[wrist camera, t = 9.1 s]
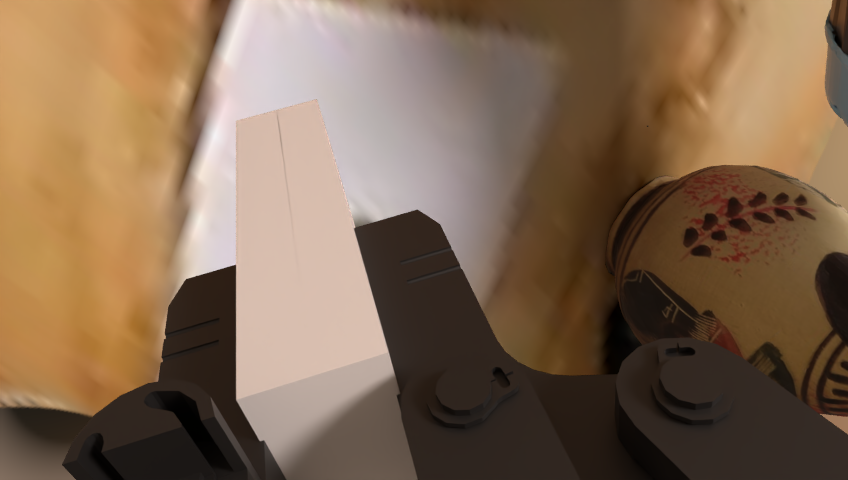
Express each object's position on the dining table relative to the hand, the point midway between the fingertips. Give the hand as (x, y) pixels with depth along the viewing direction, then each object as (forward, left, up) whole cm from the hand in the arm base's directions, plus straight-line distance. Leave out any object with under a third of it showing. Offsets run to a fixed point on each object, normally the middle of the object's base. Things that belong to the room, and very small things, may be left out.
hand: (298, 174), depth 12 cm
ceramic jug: (-27, +22, -25) cm, 43 cm away
